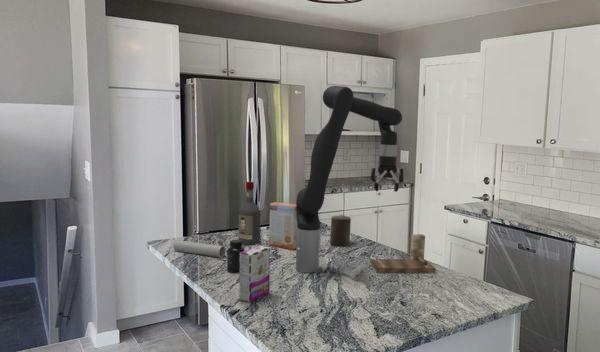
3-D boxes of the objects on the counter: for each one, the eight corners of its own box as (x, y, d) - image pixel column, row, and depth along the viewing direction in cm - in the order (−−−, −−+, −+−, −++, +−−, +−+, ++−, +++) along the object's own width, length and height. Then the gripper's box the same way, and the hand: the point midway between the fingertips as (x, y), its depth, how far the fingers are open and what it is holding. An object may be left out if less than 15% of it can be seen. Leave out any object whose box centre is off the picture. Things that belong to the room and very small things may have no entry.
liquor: (248, 239, 235) (249, 180, 232) (262, 242, 230) (263, 182, 226) (235, 242, 228) (236, 182, 224) (249, 246, 222) (250, 184, 219)
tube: (170, 243, 209) (218, 250, 200) (177, 237, 213) (224, 243, 204) (172, 253, 211) (220, 260, 202) (179, 247, 215) (226, 253, 206)
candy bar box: (258, 290, 165) (259, 244, 163) (269, 293, 162) (270, 247, 160) (238, 299, 155) (238, 251, 153) (249, 303, 153) (250, 254, 151)
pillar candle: (340, 247, 223) (341, 217, 222) (325, 243, 231) (327, 213, 229) (353, 245, 230) (355, 215, 228) (339, 240, 237) (341, 212, 235)
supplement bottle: (223, 270, 186) (223, 240, 184) (236, 266, 191) (237, 237, 189) (234, 274, 181) (234, 244, 180) (247, 270, 186) (248, 241, 185)
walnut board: (377, 272, 187) (377, 267, 187) (370, 263, 199) (370, 259, 199) (435, 272, 189) (435, 267, 189) (425, 264, 201) (425, 259, 201)
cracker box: (299, 247, 222) (300, 204, 220) (292, 250, 217) (294, 206, 214) (275, 242, 229) (276, 201, 227) (268, 245, 224) (269, 202, 222)
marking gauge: (419, 270, 191) (421, 241, 190) (410, 261, 204) (411, 234, 203) (431, 270, 192) (433, 241, 190) (421, 261, 204) (422, 234, 203)
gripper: (374, 155, 200) (372, 192, 202) (406, 155, 201) (404, 192, 203) (370, 154, 208) (368, 189, 209) (401, 154, 209) (399, 190, 211)
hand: (386, 191), depth 206 cm, fingers open, 8 cm apart
